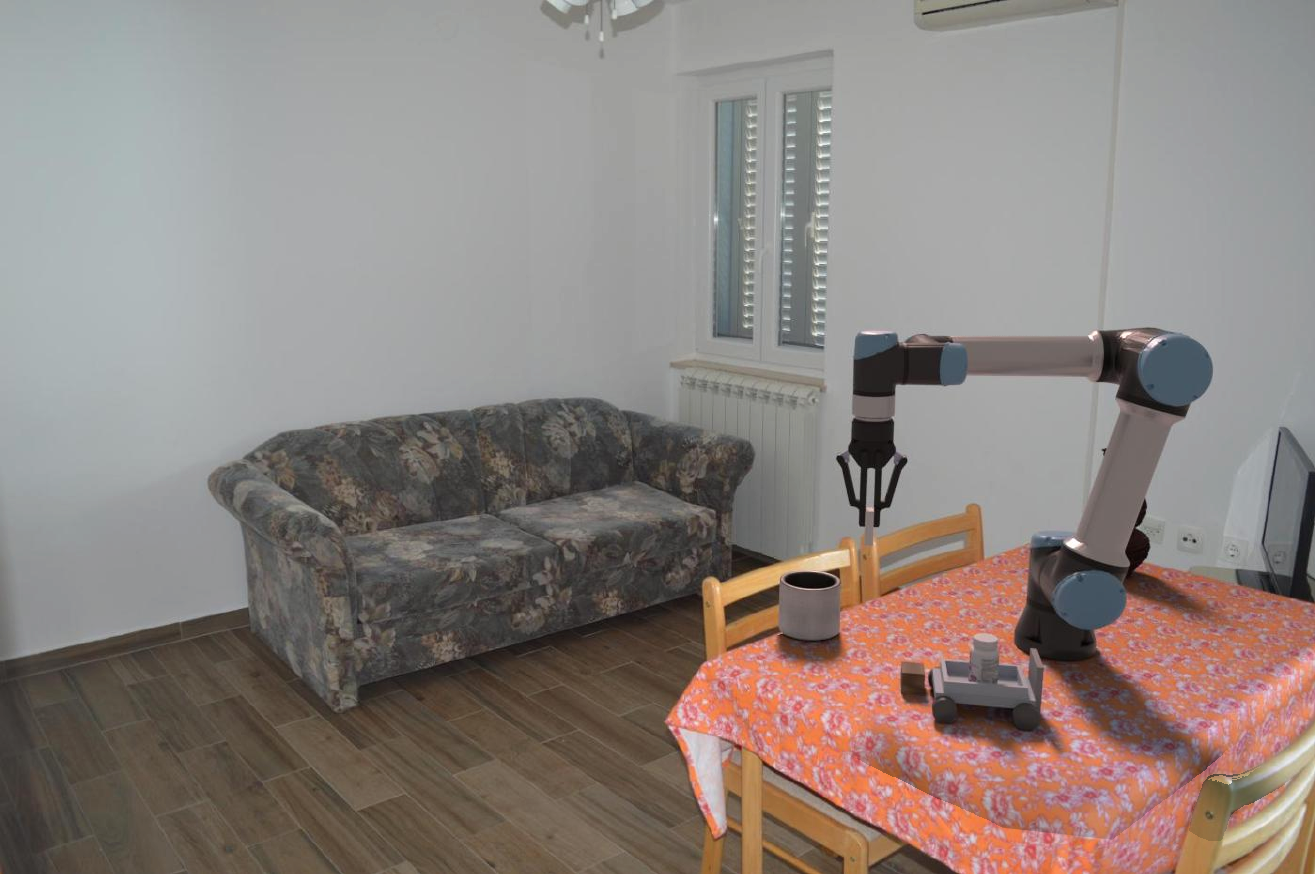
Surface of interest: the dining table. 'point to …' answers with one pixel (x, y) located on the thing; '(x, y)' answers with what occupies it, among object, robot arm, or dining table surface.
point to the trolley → (989, 690)
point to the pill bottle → (984, 659)
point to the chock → (912, 678)
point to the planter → (809, 605)
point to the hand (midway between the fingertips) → (868, 543)
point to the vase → (1137, 541)
